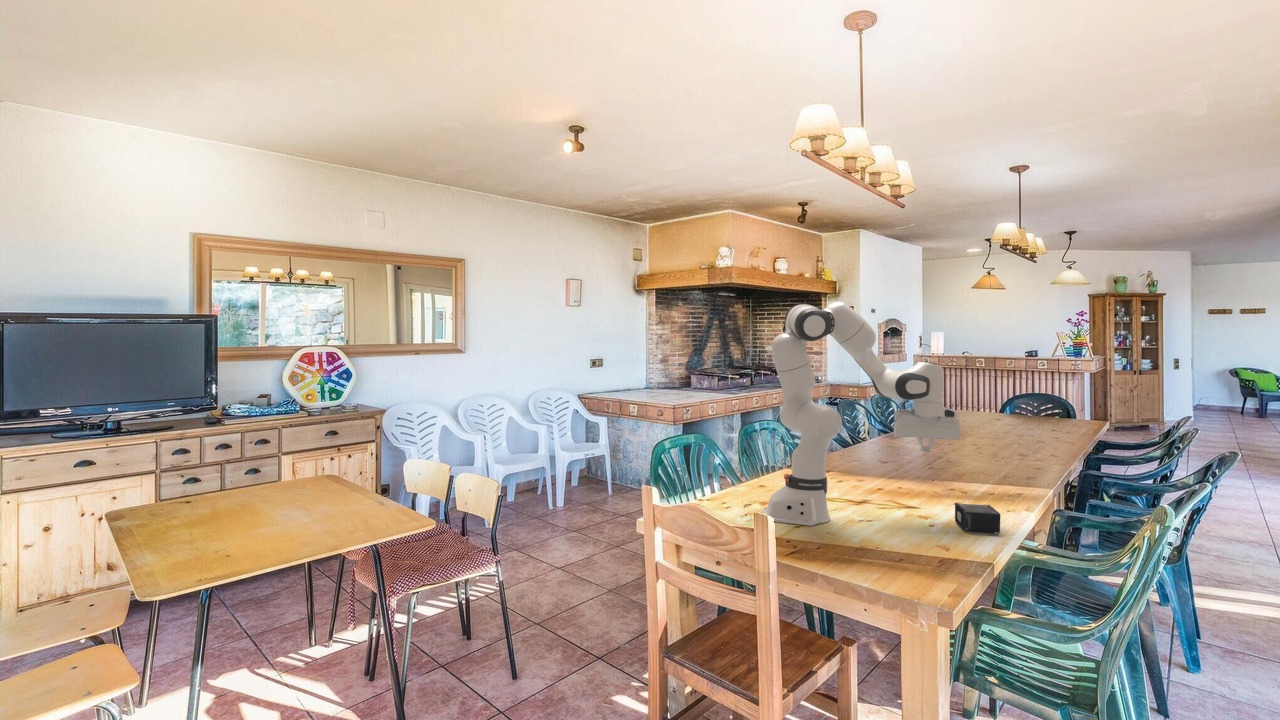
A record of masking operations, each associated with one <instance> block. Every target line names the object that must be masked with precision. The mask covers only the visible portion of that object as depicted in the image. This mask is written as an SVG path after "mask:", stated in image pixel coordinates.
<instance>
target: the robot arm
mask: <svg viewBox="0 0 1280 720" xmlns="http://www.w3.org/2000/svg"><path fill="white" fill-rule="evenodd" d="M782 332H783V333H781V334H778V335H777V336H775V337H774V338H773V340H772V342H771V351H772V358H773V363H774V366H775V371H776V373H777V376H778V379H779V380H778V381H779V383H780V387H781V390H782V396H783V397H782V398H783V403H782V404H783V405H782V407H781V408H780V411H779V420H780V422H781V424H782V425H783V426H784V427H786V428H787V429H789V430H790V431H792V432H794V433H799V434H801V435H800V440H799V443H798V446H797V447H796V448H794V449H793V451H792V454H791V474H789V473H784V474H783V479H784V480H785V485H784V486H783V487H780V489H778V490H777V491H775V492H773V494H771V495H770V497H769V500H768V503H767V506H766V507H764V508H762V509H761V514H762V513H765V514H767V515H769V516H771V517H772V518H774V520H775V522H774V523H776V522H777V523H785V524H792V525H801V526H809V527H810V526H811V527H813V526H816V525H819V524H824V523H827V522H829V521H831V517H830V513H829V509H828V503H827V494H828V493H827V492H828V477H827V474H826V473H827V457H828V450H829V448H830V445H831V442H832V441H833V439H834V437H836V436H837V435H838V434H839V433H840V431H841V429H842V425H843V420H842V417H841V415H840V413H839V411H838V410H836V409H835V408H832V407H830V406H828V405H825V404H822V403H816V402H815V401H814V400H813V395H812V393H813V389H814V387H815V385H816V378H815V376H814V375H815V374H814V371H813V368H812V364H811V362H810V361H811V360H810V359H809V355H808V353H807V344H808V342H816V341H819V340H822V339H823V338H825V337H826V336H828V335H830V336H832V338H833V339H834V340H835V341H836V342H837V343H838V344H839V345H840V346H841V347H842V348H843V349H844V350H845V351H846V353H848V354H849V355H850V356H851V357H852V358H853V359H854V361H855V362H856V363H857V364H858V365H859V367H860V368H861V369H862V370H863V371H864V372H865V373H866V375H867V376H868V377H869V379H870V380H871V382H872V383H871V384H872V385H873V388H874V390H875V392H876V394H878V395H879V396H880V397H882V398H884V399H893V400H894V399H895V400H900V401H911V400H912V401H913V404H912V405H913V406H912V409H910V408H907V409H903V408H900V409H897V410H896V411H895V412H894V413H893V420H894V425H893V426H894V427H893V434H894V435H895V436H896V437H898V438H901V437H902V438H916V440H917V442H918V444H919V446H920V447H919V448H920V452H922V453H923V452H926V453H931V452H932V447H933V446H934V444H935V443H936V440H949V441H951V440H953V441H958V440H959V439H960V438H961V430H962V429H961V424H960V423H961V422H960V420H959V419H958V417H959V413H958V411H956V410H954V409H951V408H949V407H947V406H943V405H944V404H943V403H944V401H943V396H942V395H943V392H944V385H945V383H944V379H945V378H944V369H943V367H942V366H941V365H940V364H939V363H935V362H931V361H925V360H924V361H923V360H919V361H918V362H917V363H916V364H914V365H912V366H911V367H908V368H906V369H904V370H897V369H892V368H890V367H888V366H886V365H885V364H884V363H883V362H882V360H881V359H880V358H879V357H878V356H877V355H876V354H875V353H874V351H873V349H872V348H873V347H874V346H875V343H876V339H877V337H876V336H877V335H876V332H875V331H874V329H873V327H872V325H870V324H869V322H867V320H865V319H864V317H863V316H862V315H860V314H859V313H858V312H857V311H856V310H854V309H853V308H852V307H851V306H850V305H848V304H846V303H845V302H843V301H835V302H831V303H830V304H829V305H827V306H826V307H825V308H823V309H822V308H818V307H816V306H813V305H812V304H806V303H798V304H795V305H792V306H791V307H790V308H789V309H788V310H787V311H786V314H785V316H784V322H783V327H782ZM924 439H928V442H929V443H928V444H927V445H924V444H923V442H924Z"/></svg>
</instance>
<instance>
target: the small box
mask: <svg viewBox="0 0 1280 720" xmlns="http://www.w3.org/2000/svg"><path fill="white" fill-rule="evenodd" d="M954 522H955V523H956V524H957V525H958V526H959V527H960V528H961V529H962V530H963V531H966V532H968V531H982V532H995V533H999V534H1000V532H1001V513H1000V512H999V511H998V510H997V509H995V508H994V507H993V506H991V505H990V504H973V503H972V504H970V503H960V502H958V503H957V502H955V503H954Z"/></svg>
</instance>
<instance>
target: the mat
mask: <svg viewBox="0 0 1280 720" xmlns="http://www.w3.org/2000/svg"><path fill="white" fill-rule="evenodd" d="M967 532H968V533H970V535H976V536H994V537H998V536H999V534H997V532H982V531H967Z"/></svg>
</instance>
